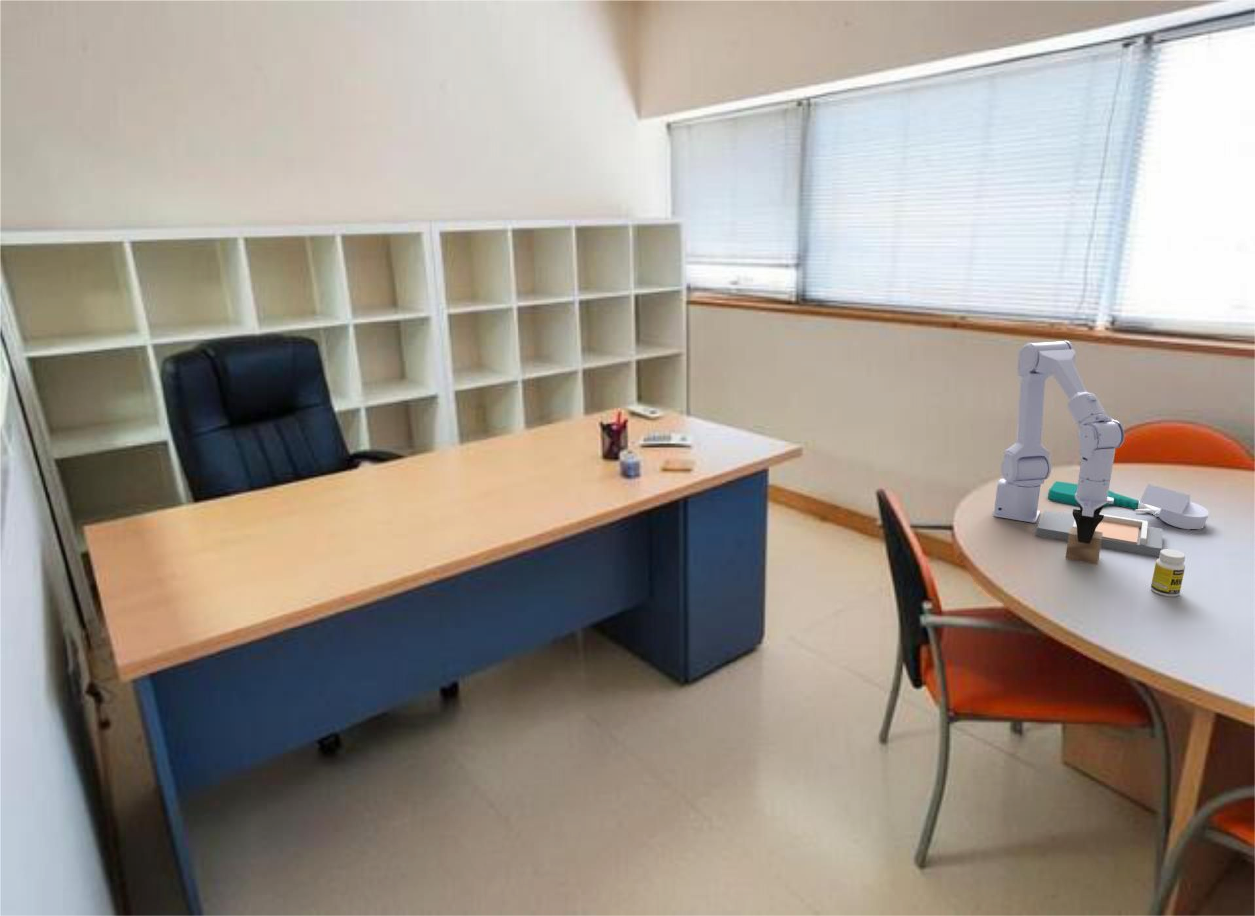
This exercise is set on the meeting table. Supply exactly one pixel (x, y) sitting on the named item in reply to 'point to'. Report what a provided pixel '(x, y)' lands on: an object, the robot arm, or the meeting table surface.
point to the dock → (1107, 532)
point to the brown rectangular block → (1083, 547)
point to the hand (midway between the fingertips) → (1085, 535)
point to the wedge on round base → (1175, 507)
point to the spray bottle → (1067, 495)
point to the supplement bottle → (1168, 573)
